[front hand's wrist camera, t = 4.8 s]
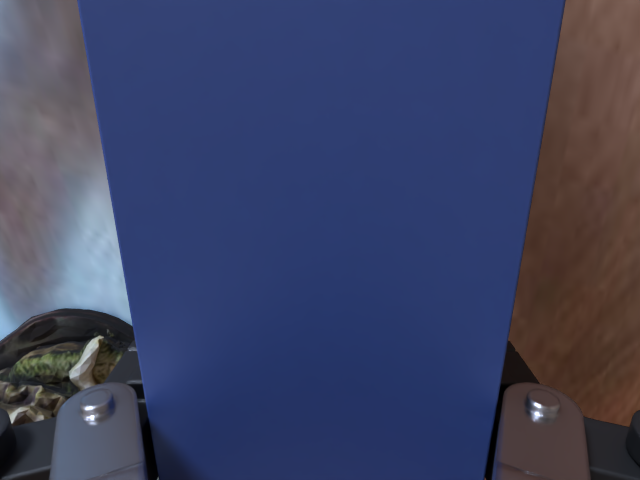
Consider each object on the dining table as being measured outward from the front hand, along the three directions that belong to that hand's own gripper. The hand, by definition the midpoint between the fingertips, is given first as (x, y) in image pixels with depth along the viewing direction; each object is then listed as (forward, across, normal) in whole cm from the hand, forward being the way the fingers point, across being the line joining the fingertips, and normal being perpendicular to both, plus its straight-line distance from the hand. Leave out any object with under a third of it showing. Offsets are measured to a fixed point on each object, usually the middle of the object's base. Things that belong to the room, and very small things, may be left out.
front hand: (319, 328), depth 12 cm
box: (+6, 0, -10) cm, 12 cm away
